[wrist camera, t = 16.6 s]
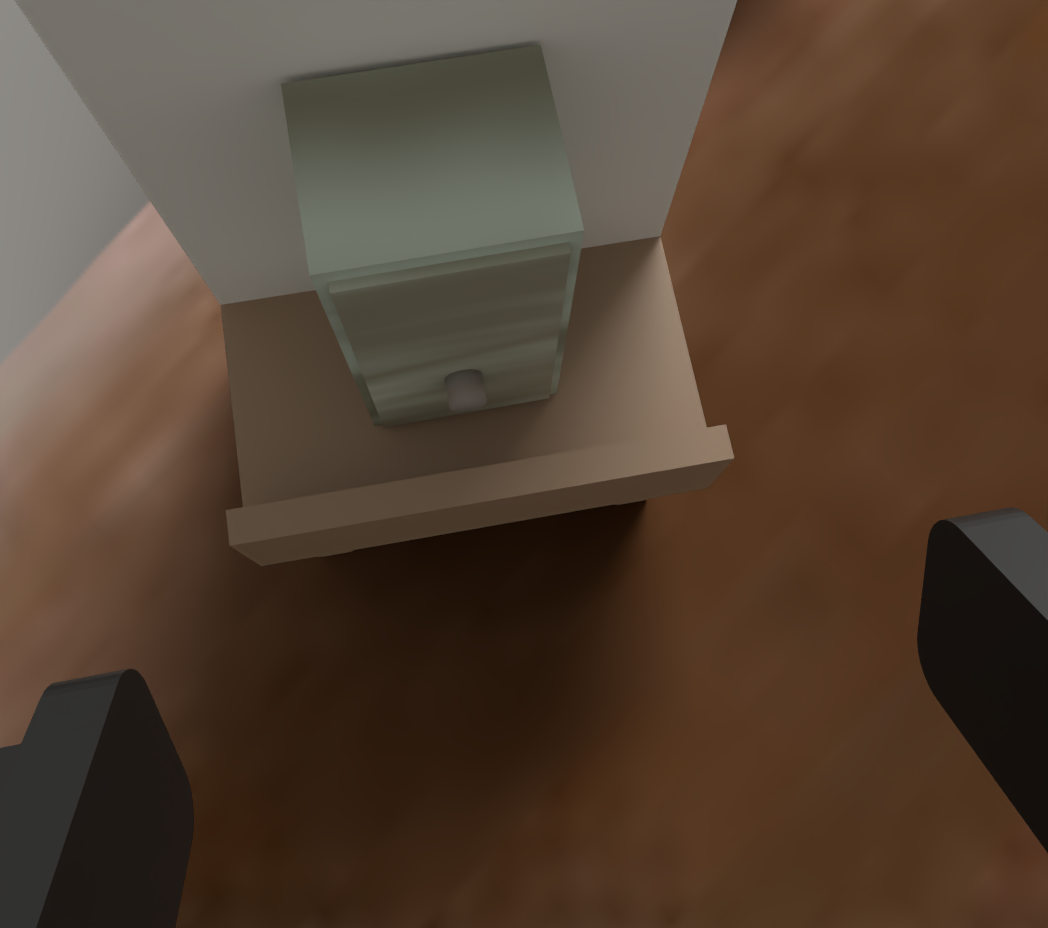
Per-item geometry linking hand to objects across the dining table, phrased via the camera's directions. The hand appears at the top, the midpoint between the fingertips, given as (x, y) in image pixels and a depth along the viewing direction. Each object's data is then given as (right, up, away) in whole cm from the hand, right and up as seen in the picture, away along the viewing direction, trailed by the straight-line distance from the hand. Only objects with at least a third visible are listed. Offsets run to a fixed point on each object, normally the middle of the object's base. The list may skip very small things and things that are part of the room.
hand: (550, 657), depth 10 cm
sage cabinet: (-2, +6, +20) cm, 21 cm away
